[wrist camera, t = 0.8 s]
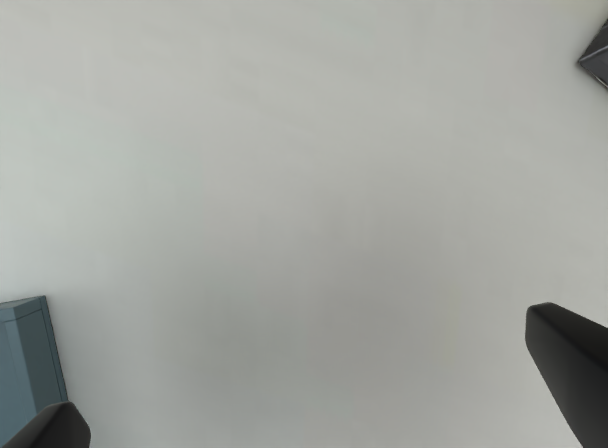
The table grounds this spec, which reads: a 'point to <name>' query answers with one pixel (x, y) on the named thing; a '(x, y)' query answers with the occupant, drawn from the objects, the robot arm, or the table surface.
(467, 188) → the table surface
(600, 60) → the disk drive
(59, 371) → the tray
